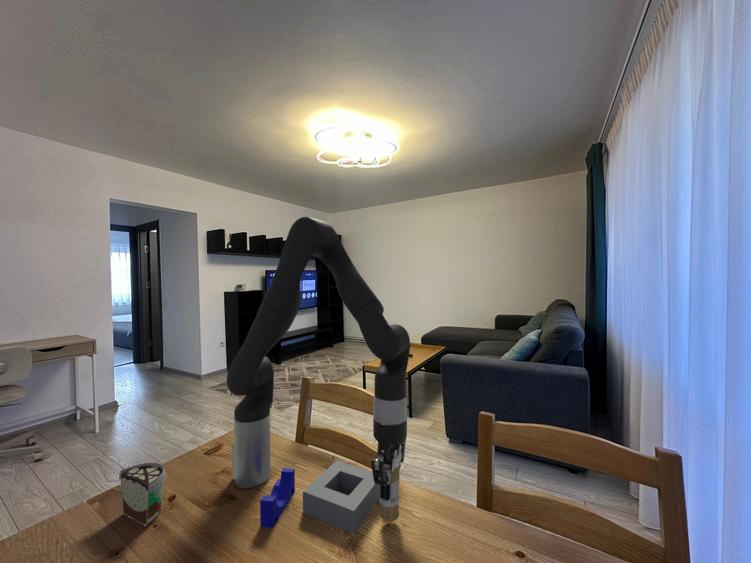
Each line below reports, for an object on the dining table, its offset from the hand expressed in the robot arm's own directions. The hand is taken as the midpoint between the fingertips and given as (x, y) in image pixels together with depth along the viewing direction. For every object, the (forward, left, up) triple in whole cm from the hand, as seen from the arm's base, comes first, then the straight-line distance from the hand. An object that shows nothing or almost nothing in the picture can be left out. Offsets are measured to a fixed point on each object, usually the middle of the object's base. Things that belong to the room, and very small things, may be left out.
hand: (389, 491), depth 69 cm
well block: (-13, +1, -7) cm, 15 cm away
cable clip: (-27, -7, -8) cm, 29 cm away
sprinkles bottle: (0, 0, -6) cm, 6 cm away
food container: (-53, -22, -7) cm, 58 cm away
